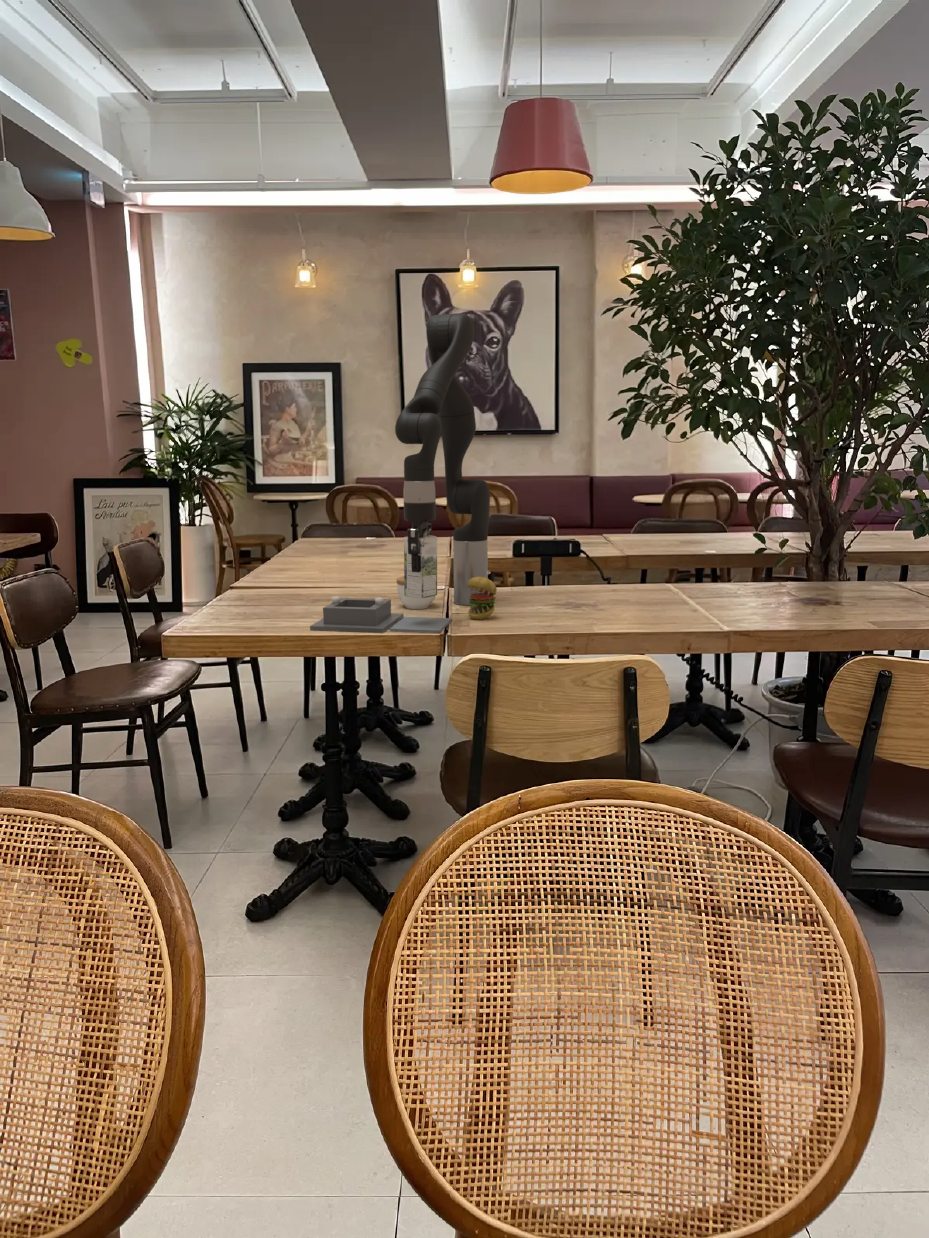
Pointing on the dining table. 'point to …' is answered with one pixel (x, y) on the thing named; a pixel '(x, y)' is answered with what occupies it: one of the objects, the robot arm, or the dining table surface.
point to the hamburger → (481, 597)
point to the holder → (357, 615)
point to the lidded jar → (411, 601)
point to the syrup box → (425, 580)
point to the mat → (421, 624)
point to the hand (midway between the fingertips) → (420, 569)
